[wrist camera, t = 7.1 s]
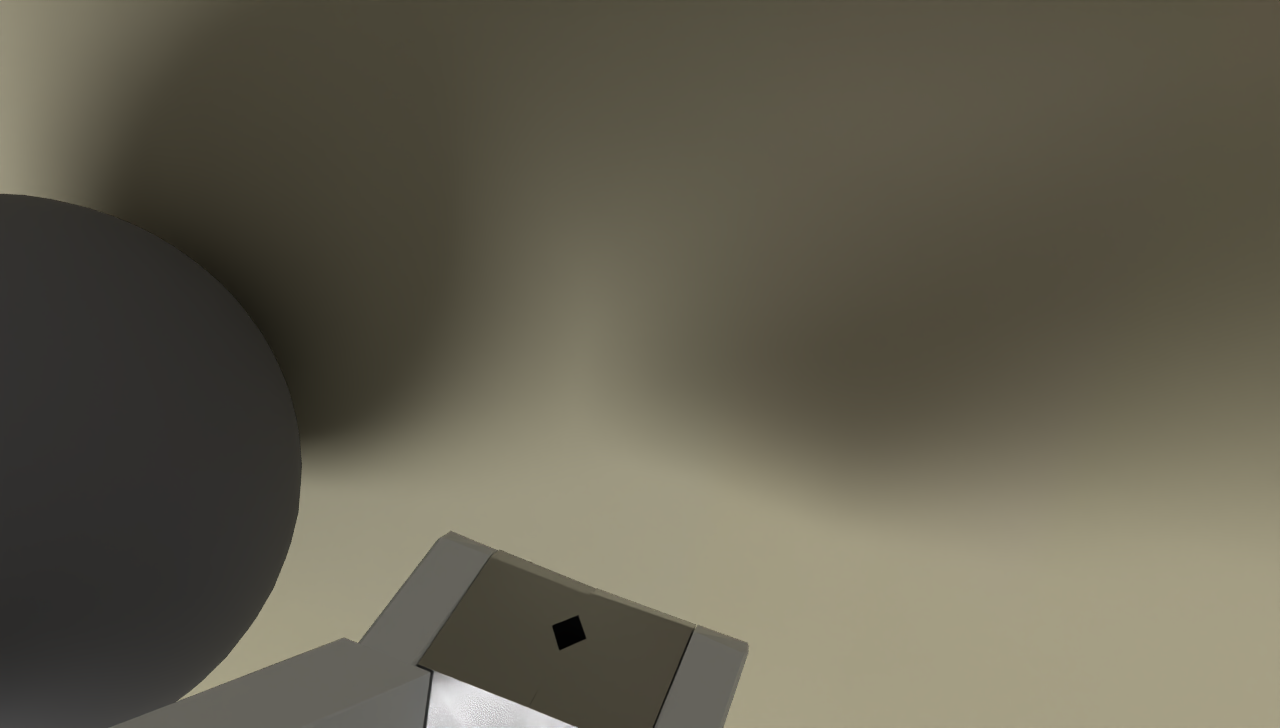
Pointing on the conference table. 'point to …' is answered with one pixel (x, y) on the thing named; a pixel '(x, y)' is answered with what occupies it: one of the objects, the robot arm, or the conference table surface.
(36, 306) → the dark gray ball
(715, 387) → the conference table surface
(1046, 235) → the conference table surface
